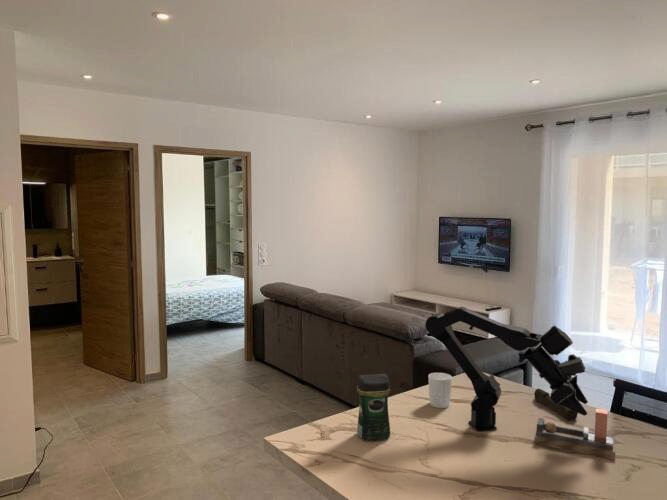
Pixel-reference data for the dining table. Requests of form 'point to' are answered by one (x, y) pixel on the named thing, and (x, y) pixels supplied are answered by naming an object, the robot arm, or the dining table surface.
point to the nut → (550, 427)
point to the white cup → (440, 389)
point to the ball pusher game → (572, 441)
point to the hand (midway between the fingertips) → (586, 408)
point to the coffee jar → (373, 407)
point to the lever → (599, 429)
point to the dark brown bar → (554, 405)
